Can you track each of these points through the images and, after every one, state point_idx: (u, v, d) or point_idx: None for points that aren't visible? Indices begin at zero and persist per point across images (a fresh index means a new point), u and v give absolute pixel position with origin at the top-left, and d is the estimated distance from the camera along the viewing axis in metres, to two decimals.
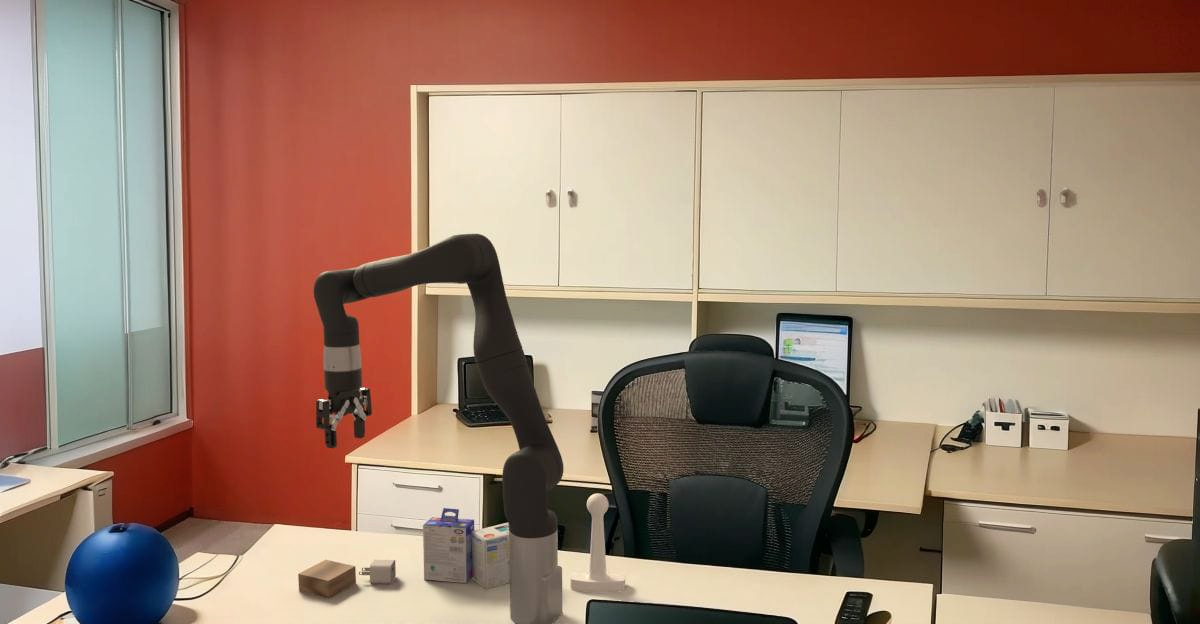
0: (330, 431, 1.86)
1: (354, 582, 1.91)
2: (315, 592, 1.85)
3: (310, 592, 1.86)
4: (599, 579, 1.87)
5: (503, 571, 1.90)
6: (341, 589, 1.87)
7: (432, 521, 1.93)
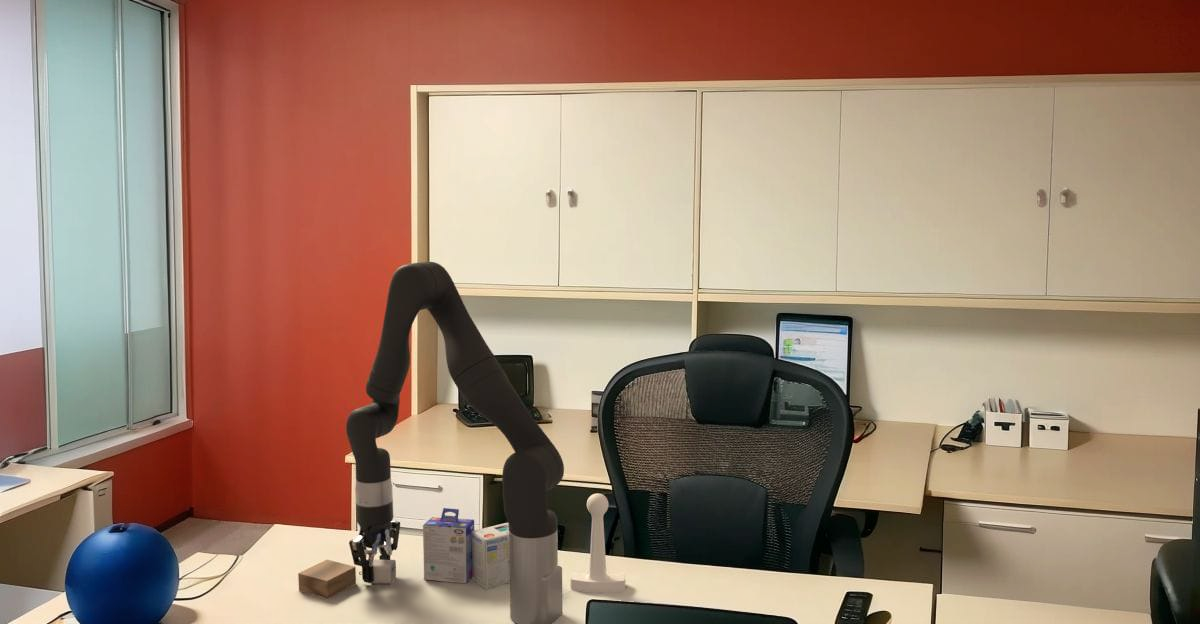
0: (368, 567, 1.89)
1: (354, 582, 1.90)
2: (314, 592, 1.86)
3: (309, 592, 1.86)
4: (599, 579, 1.87)
5: (503, 571, 1.90)
6: (340, 589, 1.87)
7: (432, 521, 1.93)
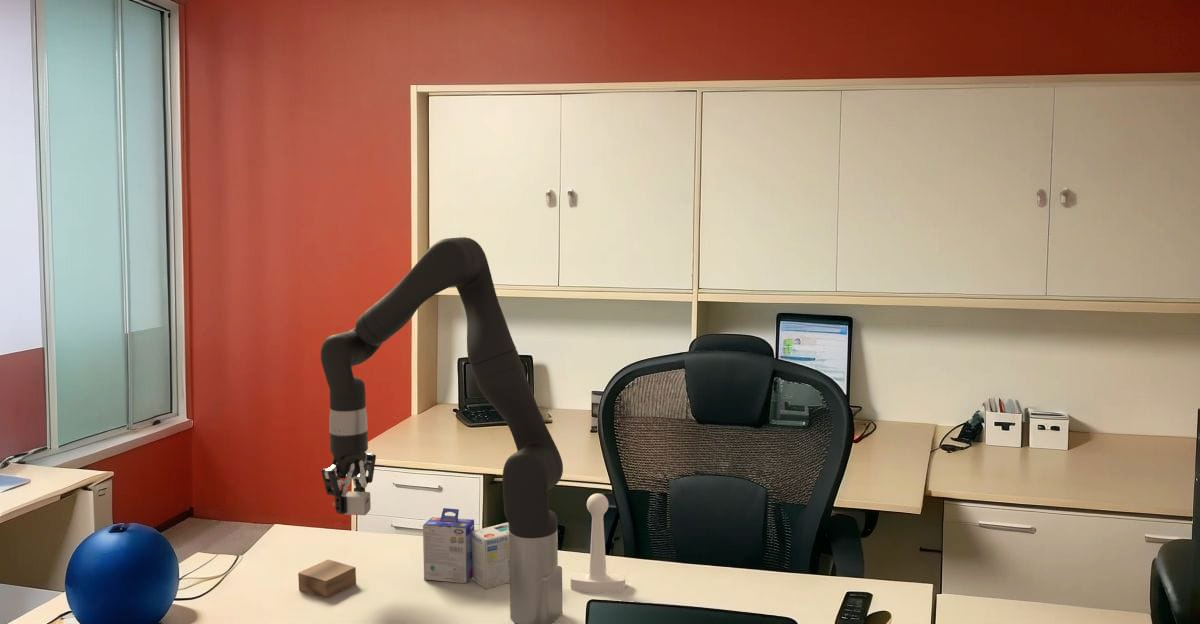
0: (341, 497, 1.86)
1: (354, 583, 1.90)
2: (314, 592, 1.86)
3: (309, 592, 1.86)
4: (599, 579, 1.87)
5: (503, 571, 1.90)
6: (340, 590, 1.87)
7: (432, 521, 1.93)
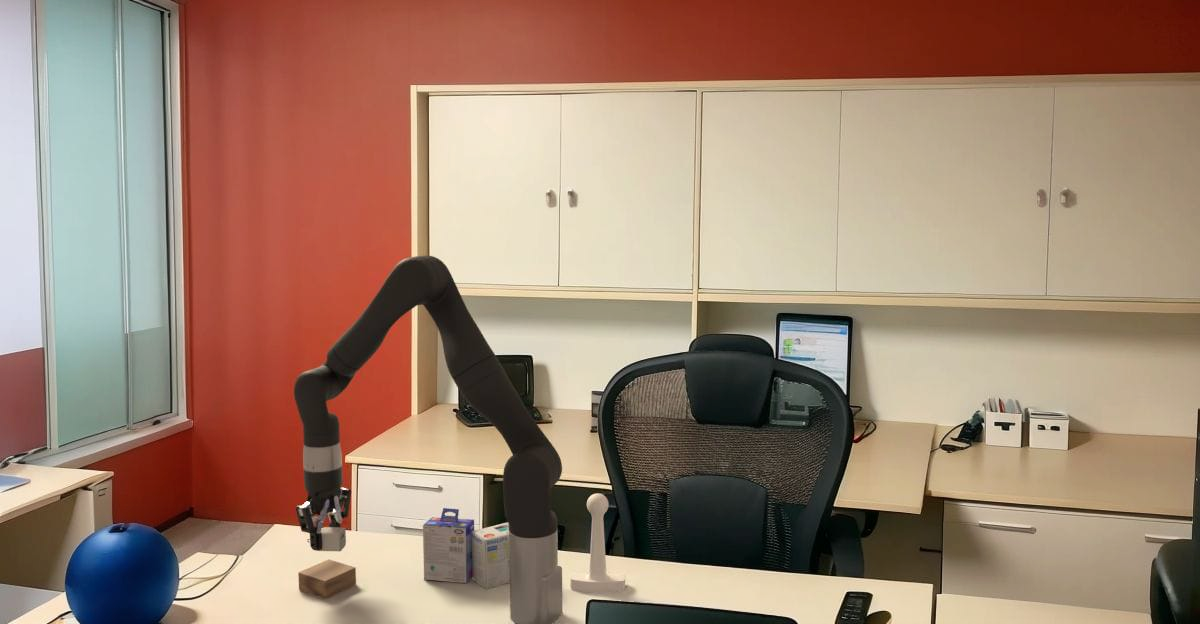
0: (316, 534, 1.84)
1: (354, 583, 1.90)
2: (313, 592, 1.86)
3: (309, 591, 1.86)
4: (599, 579, 1.87)
5: (503, 571, 1.90)
6: (339, 590, 1.87)
7: (432, 521, 1.93)
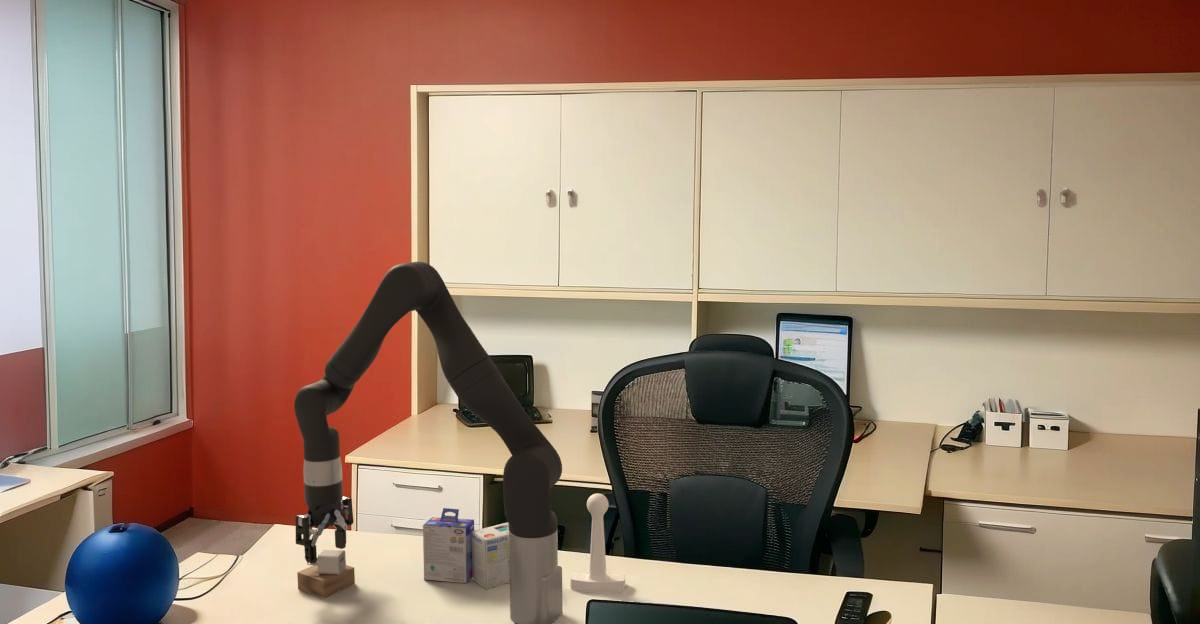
0: (310, 546, 1.83)
1: (353, 583, 1.90)
2: (312, 591, 1.86)
3: (308, 591, 1.87)
4: (599, 579, 1.87)
5: (503, 571, 1.90)
6: (338, 590, 1.87)
7: (432, 521, 1.93)
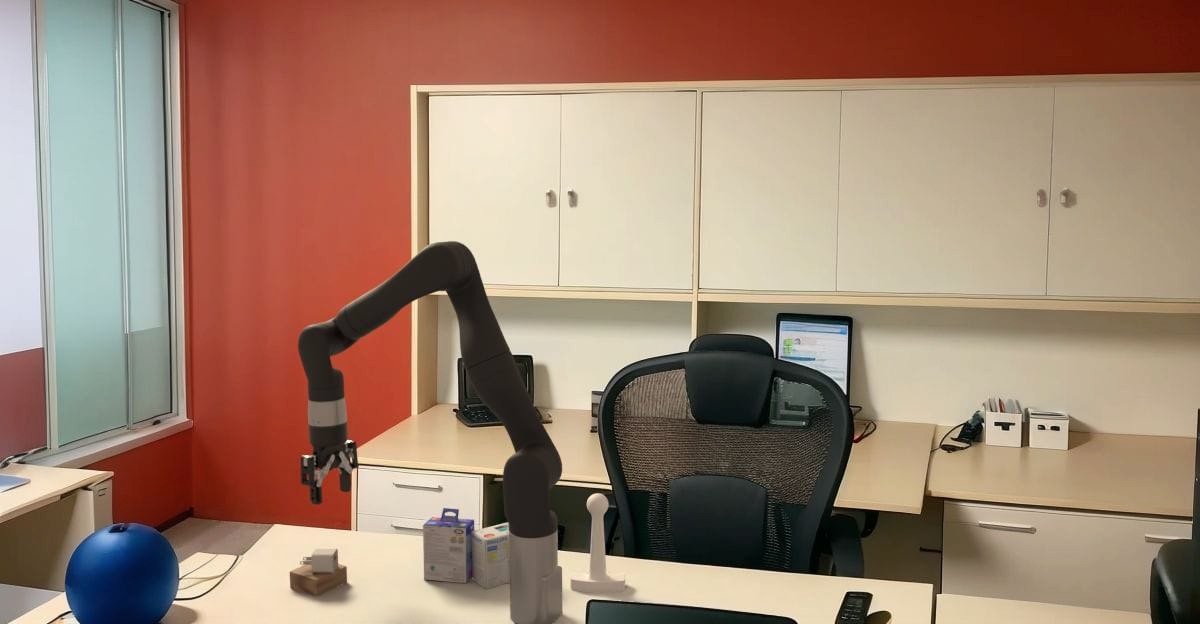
0: (315, 487, 1.82)
1: (345, 582, 1.91)
2: (305, 590, 1.87)
3: (300, 590, 1.87)
4: (599, 579, 1.87)
5: (503, 571, 1.90)
6: (330, 589, 1.88)
7: (432, 521, 1.93)
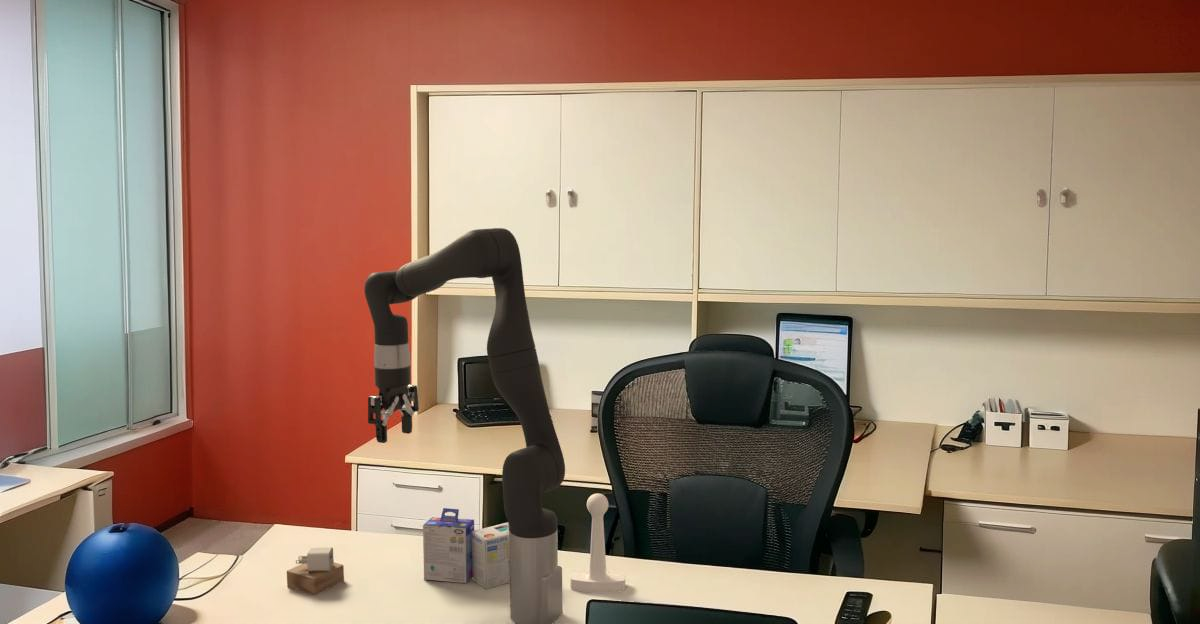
0: (381, 426, 1.93)
1: (342, 581, 1.92)
2: (302, 589, 1.87)
3: (297, 589, 1.88)
4: (599, 579, 1.87)
5: (503, 571, 1.90)
6: (328, 587, 1.89)
7: (432, 521, 1.93)
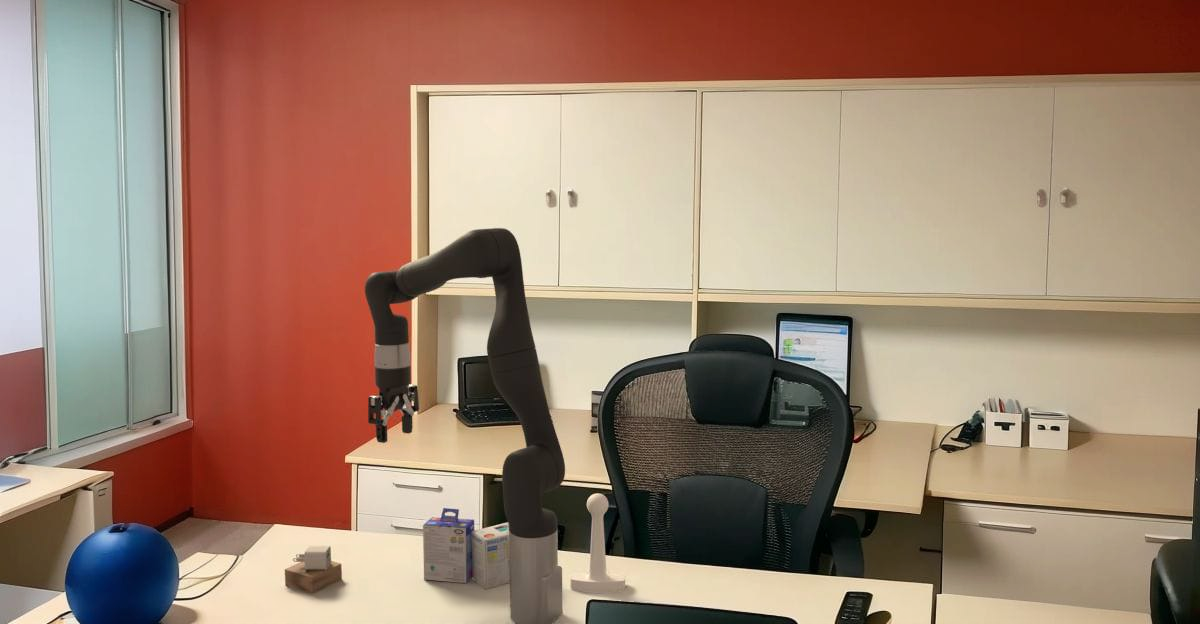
0: (381, 426, 1.93)
1: (340, 579, 1.93)
2: (300, 588, 1.88)
3: None
4: (599, 579, 1.87)
5: (503, 571, 1.90)
6: (326, 586, 1.89)
7: (432, 521, 1.93)
